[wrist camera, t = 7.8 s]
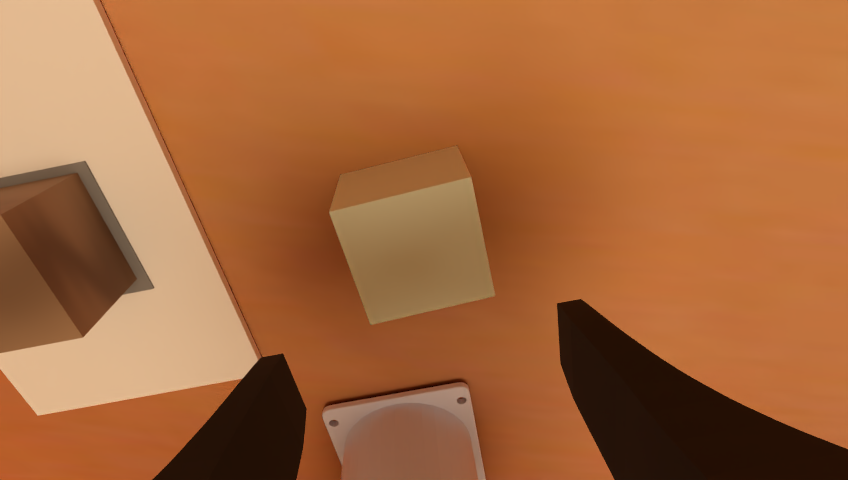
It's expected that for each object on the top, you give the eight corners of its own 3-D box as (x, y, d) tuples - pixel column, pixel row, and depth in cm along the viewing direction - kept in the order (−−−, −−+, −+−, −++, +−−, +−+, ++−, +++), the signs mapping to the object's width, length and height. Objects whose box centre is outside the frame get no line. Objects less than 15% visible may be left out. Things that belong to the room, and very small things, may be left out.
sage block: (478, 247, 22) (495, 296, 18) (374, 272, 22) (370, 325, 18) (456, 144, 19) (471, 177, 16) (340, 173, 19) (328, 212, 16)
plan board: (266, 368, 24) (264, 375, 23) (43, 409, 24) (36, 417, 24) (86, -31, 16) (77, -32, 15) (-250, 41, 16) (-269, 42, 15)
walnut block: (136, 278, 20) (82, 337, 17) (28, 299, 21) (-48, 361, 17) (77, 172, 18) (0, 214, 15) (-45, 196, 18) (-150, 244, 15)
